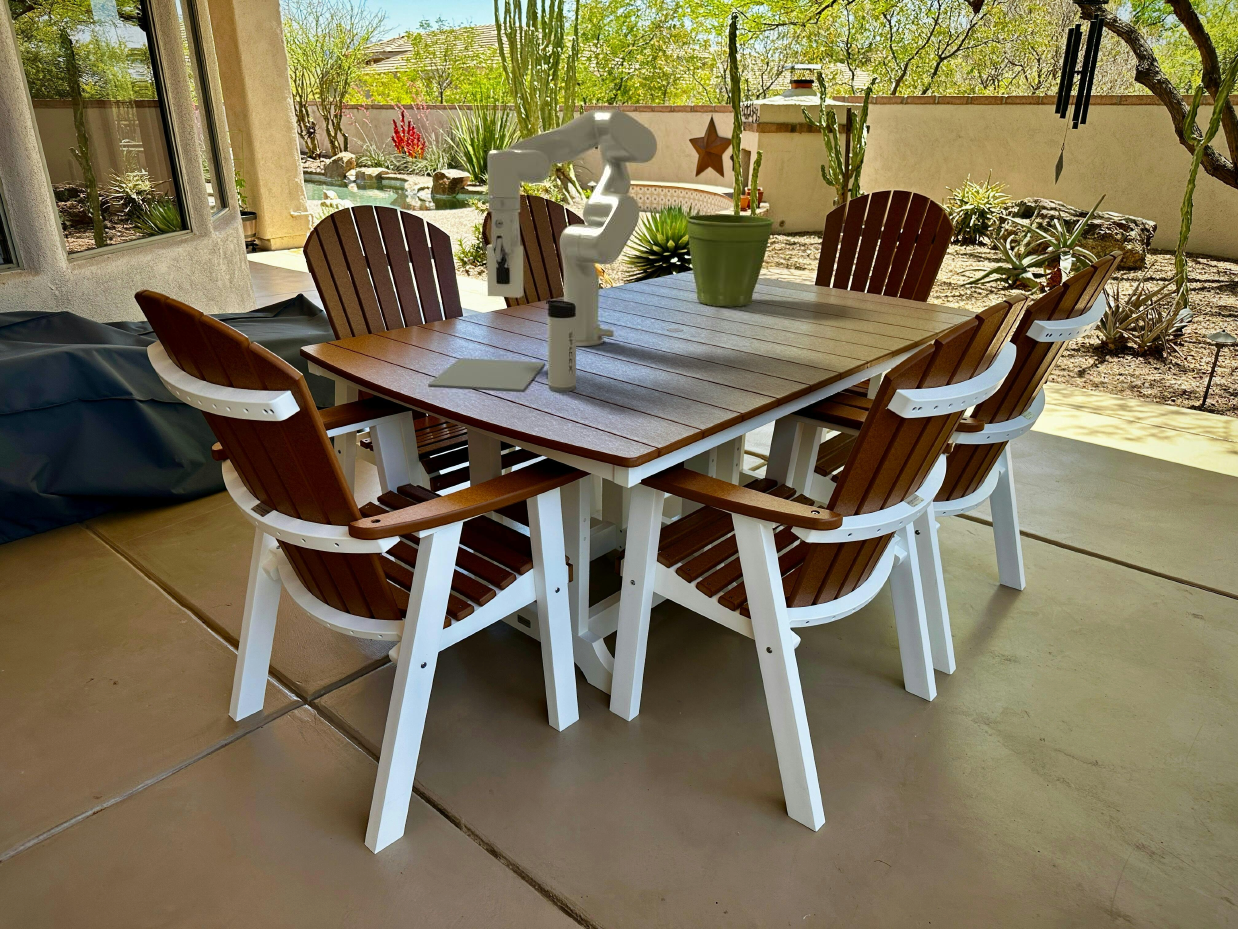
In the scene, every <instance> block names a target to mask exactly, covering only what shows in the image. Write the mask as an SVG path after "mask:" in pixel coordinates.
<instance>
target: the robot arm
mask: <svg viewBox="0 0 1238 929" xmlns="http://www.w3.org/2000/svg"><path fill="white" fill-rule="evenodd" d="M597 147H599V152H600V156H601V163H602V172H601V173H602V174H601V177H600V179H599V180H598V183H597V184H596V186H595V187H594V189H593V191H592V192H591V194H590V196H589V198H588V200H587V201H586V203H585V205H584V207H583V209H582V210H583V211H582V217H583V218H582V219H583V221H584V223H586V224H582V223H581V224H580V223H574V224H571V225H569V226H567V227H565V228H564V229H563V231H562V232H561V235H560V238H559V247H560V248H559V249H560V253H561V258H562V259H561V260H562V266H563V301H567V302H571V303H574V304H575V306H576V347H591V346H597V345H600V344H602V343H603V342H604V337H606V338H614V336H615V334H614V333H615V331H614V330H613V329H611V328H610V329H609V328H603V327H601V323H599V297H600V296H599V295H600V294H599V289H600V288H599V285H600V280H599V278H600V277H599V273H598V272H599V271H598V269H597V266H596V265H595V264H598V265H610V264H613V263H614V262H616V261H617V259H618V258H619V257H620V256H621V254H622V252H623V251H624V249H625V247H626V245H627V244H628V242H629V240H630V238H631V236H632V235H633V233H634V231H635V230H636V227H637V225H638V223H639V221H640V220H639V218H640V206H639V203H638V201H637V200H636V198H635V197H633V196H632V195H629V192H630V190H631V185H632V183H631V176H630V173H629V171H628V166H627V163H628V164H629V163H633V164H644V163H648V162H650V161H652V159H653V158H654V157H655V156H656V153H657V150H658V143H657V138H656V136H655V134H654V133H653V131H652V130H651V129H650V128H648V127H647V126H645V124H643V123H642V122H640V121H639V120H637V119H636V118H634V117H633V116H631V115H629V113H626V112H624V111H622V110H619V109H592V110H588V111H586V112H584V113H582V114H580V115H579V116H577V117H575V118H573V119H572V120H570V121H568V122H566V123H564V124H563V125H561V126H558V127H556V128H554V129H550V130H547V131H544V132H541V133H539V134H535V135H533V136H530V137H527V138H524V139H522V140H519V141H518V142H516V143H514V144H512V145H510V146H508V147H507V148H505V149H504V150H503V149H492V150H490V151H489V152H488V153H487V158H486V159H487V192H488V193H487V194H488V195H487V196H488V198H487V199H488V212H491V231H490V232H491V236H490V237H491V244H492V252H493V253H494V254H495V258H496V282H497V284H509V283H510V269H509V268H508V253H509V255H513V254H514V247H516V246H521V231H520V219H519V218H520V217H519V213H520V212H521V184H520V183H523V184H524V183H527V184H540V183H542V182H544V181H546V180H547V179H548V178H549V176H550V175H551V172H552V165H557V164H558V165H559V164H563V163H564V164H565V163H568V162H572V161H575V160H577V159H579V158H580V157H581V156H583V155H585V154H587V153H588V152H589V151H592V150H594V149H595V148H597ZM495 246H496V251H495ZM502 252H506V254H502ZM504 257H505V259H504Z"/></svg>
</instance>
